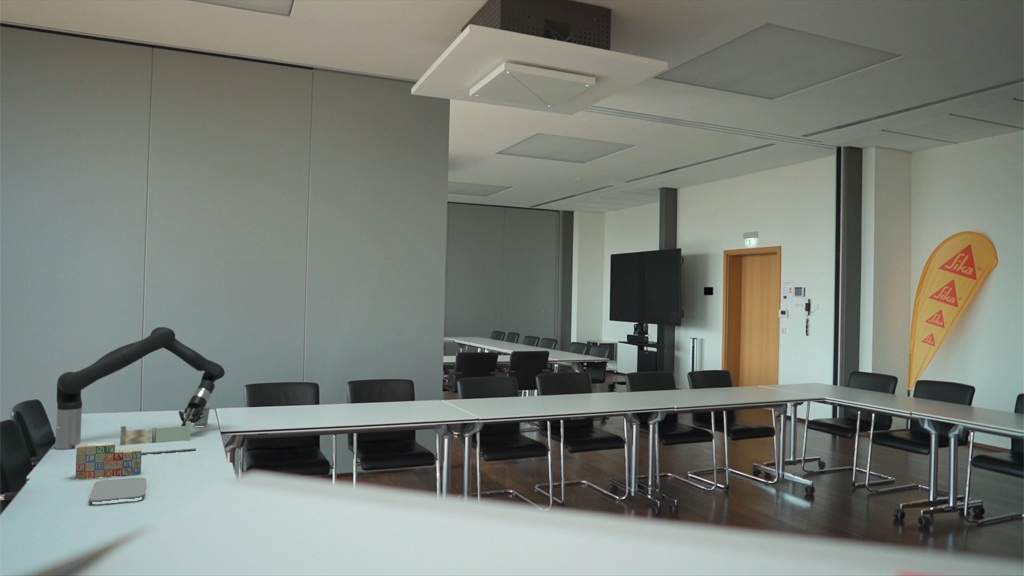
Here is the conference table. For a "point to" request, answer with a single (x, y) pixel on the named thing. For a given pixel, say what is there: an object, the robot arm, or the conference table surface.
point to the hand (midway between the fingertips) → (183, 429)
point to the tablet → (118, 489)
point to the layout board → (169, 451)
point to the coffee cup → (204, 420)
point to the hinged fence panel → (171, 433)
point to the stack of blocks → (106, 460)
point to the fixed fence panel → (134, 436)
